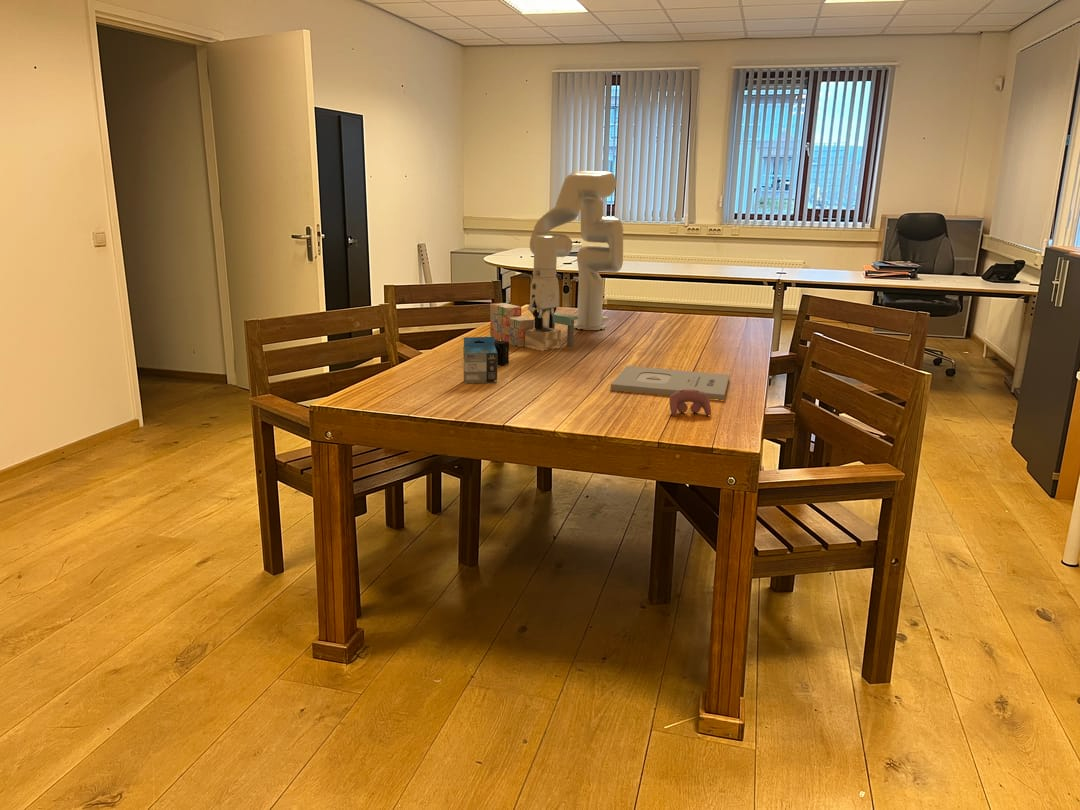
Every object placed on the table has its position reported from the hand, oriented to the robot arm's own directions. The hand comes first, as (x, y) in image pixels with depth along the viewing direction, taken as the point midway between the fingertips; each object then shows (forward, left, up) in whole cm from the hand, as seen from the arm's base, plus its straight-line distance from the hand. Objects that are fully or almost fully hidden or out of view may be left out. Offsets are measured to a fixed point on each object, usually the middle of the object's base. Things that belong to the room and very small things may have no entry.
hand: (543, 327), depth 263 cm
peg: (0, 0, -3) cm, 3 cm away
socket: (0, 0, -7) cm, 7 cm away
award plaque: (+10, +60, -7) cm, 61 cm away
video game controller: (+31, +80, -7) cm, 86 cm away
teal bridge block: (-10, -1, -7) cm, 13 cm away
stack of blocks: (+1, -15, -7) cm, 17 cm away
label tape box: (+49, +23, -7) cm, 54 cm away
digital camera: (+31, +7, -7) cm, 32 cm away
